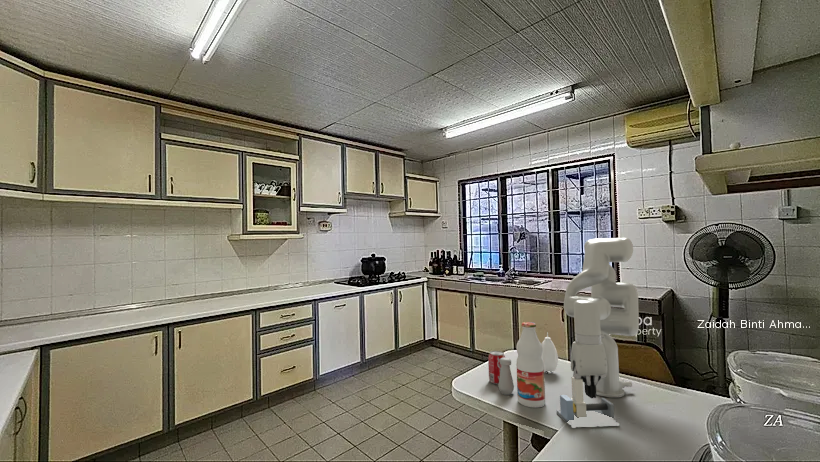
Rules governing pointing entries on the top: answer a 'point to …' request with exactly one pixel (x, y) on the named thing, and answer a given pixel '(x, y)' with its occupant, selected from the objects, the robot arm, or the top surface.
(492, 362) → the soda can
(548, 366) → the sauce bottle
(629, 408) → the top surface
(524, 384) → the fruit juice
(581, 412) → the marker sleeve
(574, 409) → the blue block with rod
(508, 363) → the salt shaker
